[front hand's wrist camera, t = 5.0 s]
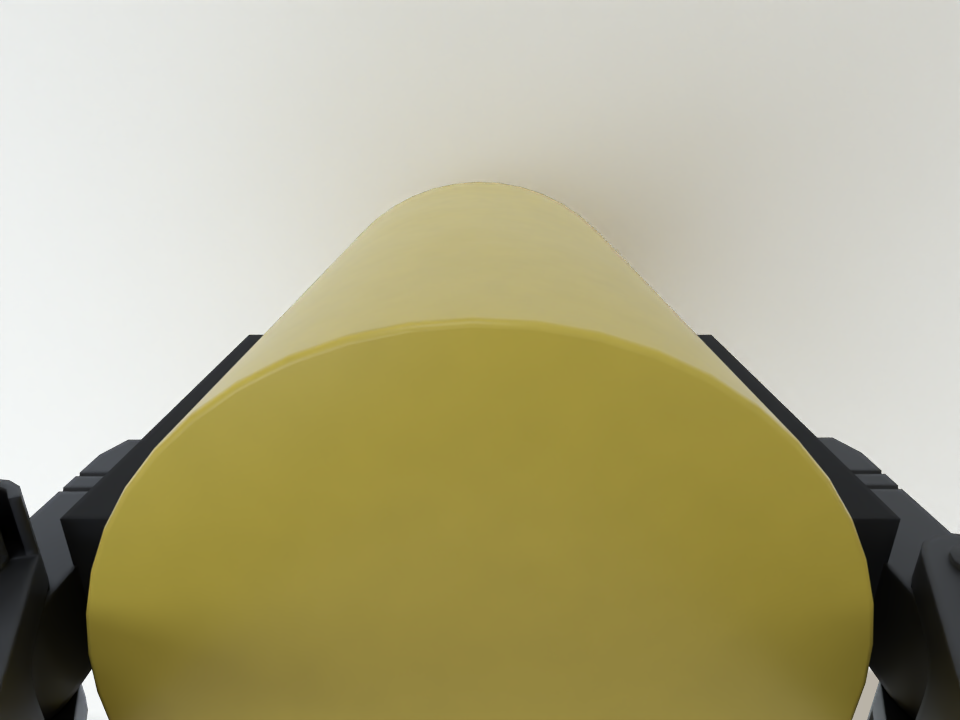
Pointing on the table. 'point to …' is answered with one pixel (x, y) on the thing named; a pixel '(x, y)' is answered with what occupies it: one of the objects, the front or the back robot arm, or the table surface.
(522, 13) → the table surface
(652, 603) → the tin
